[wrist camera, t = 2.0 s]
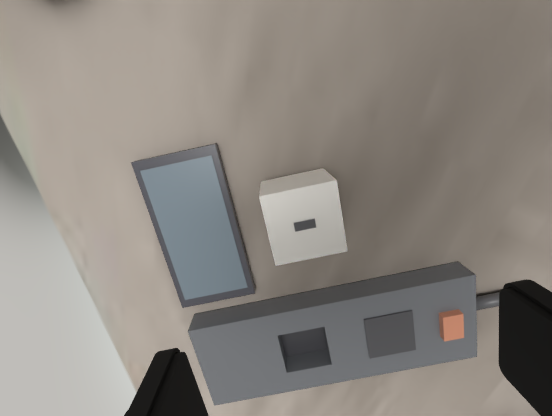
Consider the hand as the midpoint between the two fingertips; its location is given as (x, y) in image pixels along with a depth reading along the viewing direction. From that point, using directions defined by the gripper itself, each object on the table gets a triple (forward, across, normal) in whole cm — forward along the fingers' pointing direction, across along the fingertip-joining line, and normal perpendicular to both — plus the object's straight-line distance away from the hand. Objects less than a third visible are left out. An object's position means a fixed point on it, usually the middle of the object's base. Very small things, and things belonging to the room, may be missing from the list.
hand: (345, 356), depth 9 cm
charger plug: (+18, 0, 0) cm, 18 cm away
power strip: (+18, -5, +14) cm, 23 cm away
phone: (+18, +9, +1) cm, 20 cm away
